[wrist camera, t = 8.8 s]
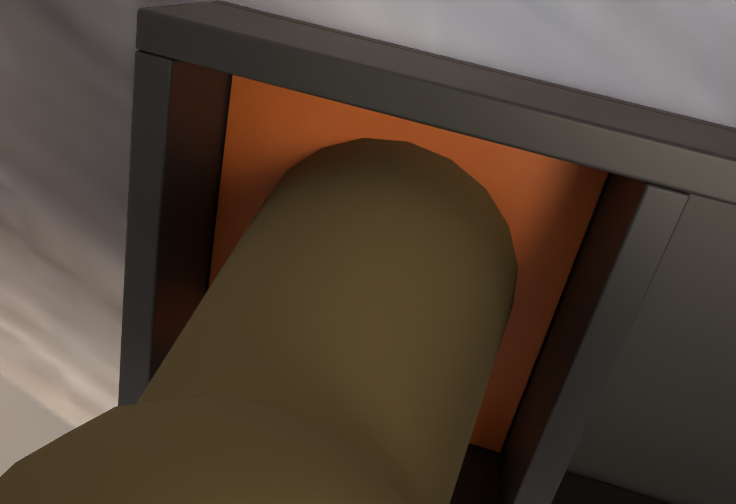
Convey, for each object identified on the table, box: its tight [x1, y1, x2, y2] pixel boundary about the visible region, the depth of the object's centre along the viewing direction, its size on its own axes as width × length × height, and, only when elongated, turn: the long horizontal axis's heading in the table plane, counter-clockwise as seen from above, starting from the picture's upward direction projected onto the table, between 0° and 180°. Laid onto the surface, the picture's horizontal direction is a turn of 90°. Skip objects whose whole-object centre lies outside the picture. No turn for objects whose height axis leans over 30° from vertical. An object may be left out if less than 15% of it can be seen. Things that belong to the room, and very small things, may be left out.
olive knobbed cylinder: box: [0, 138, 518, 504], centre depth 10 cm, size 6×6×11 cm
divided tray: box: [118, 1, 736, 504], centre depth 13 cm, size 9×18×3 cm, turn 78°
